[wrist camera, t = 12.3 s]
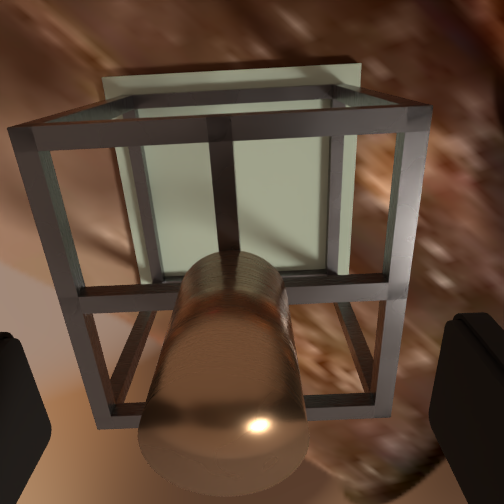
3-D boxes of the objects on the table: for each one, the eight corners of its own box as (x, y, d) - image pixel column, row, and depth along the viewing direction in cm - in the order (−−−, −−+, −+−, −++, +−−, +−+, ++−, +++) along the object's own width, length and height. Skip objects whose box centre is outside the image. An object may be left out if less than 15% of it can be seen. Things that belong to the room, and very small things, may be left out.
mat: (358, 62, 19) (361, 63, 19) (345, 283, 24) (347, 288, 24) (105, 76, 19) (101, 77, 19) (146, 292, 24) (144, 298, 24)
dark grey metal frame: (343, 83, 19) (591, 145, 5) (335, 277, 23) (456, 583, 10) (122, 94, 19) (-195, 185, 5) (156, 285, 23) (28, 599, 10)
